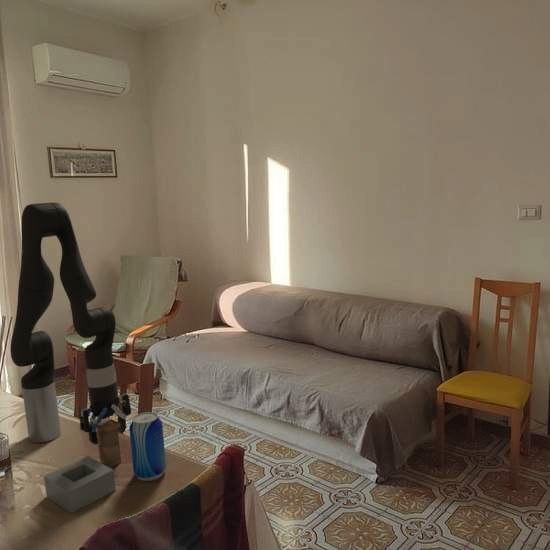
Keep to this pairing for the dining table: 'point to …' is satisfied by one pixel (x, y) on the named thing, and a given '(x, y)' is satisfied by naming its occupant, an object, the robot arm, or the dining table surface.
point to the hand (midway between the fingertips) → (108, 437)
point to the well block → (79, 483)
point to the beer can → (147, 446)
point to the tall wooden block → (109, 442)
